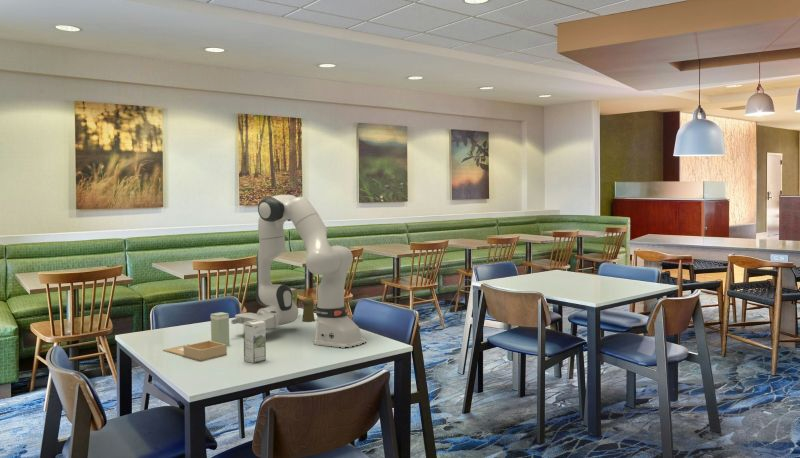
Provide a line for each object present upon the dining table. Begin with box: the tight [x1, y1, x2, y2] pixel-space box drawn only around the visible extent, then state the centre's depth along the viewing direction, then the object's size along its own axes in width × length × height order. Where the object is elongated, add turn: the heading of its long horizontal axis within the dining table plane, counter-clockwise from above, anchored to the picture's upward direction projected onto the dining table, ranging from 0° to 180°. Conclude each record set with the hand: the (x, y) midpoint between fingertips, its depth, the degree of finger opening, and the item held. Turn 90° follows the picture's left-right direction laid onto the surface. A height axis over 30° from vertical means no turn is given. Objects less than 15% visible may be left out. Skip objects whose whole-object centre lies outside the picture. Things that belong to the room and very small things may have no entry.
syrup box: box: [243, 320, 267, 364], centre depth 225 cm, size 6×6×14 cm
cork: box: [301, 297, 315, 323], centre depth 297 cm, size 6×6×11 cm
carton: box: [210, 311, 230, 347], centre depth 249 cm, size 5×5×13 cm
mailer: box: [162, 340, 228, 362], centre depth 238 cm, size 26×11×4 cm, turn 51°
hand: (239, 323), depth 256 cm, fingers open, 8 cm apart
